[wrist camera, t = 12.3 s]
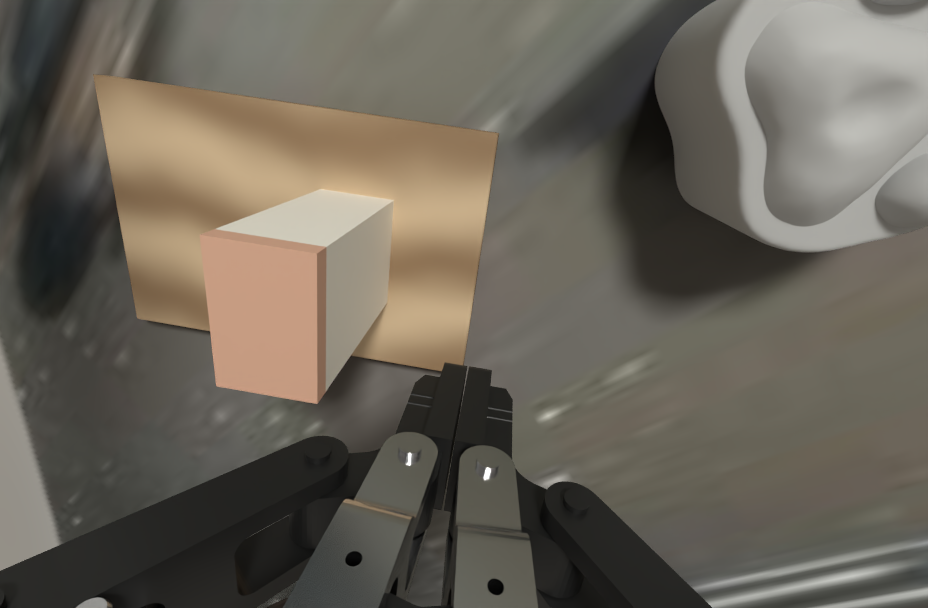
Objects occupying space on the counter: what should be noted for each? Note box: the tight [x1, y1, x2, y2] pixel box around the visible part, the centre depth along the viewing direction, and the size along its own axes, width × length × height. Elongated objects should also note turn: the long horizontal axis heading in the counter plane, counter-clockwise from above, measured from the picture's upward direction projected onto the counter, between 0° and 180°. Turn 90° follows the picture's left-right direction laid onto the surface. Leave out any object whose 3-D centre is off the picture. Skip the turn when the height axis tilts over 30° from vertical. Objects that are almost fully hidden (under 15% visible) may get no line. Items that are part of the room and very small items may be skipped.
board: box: [93, 74, 499, 371], centre depth 26 cm, size 14×21×1 cm, turn 82°
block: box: [200, 189, 394, 404], centre depth 20 cm, size 6×4×10 cm, turn 172°
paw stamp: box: [655, 0, 928, 253], centre depth 17 cm, size 10×13×9 cm
